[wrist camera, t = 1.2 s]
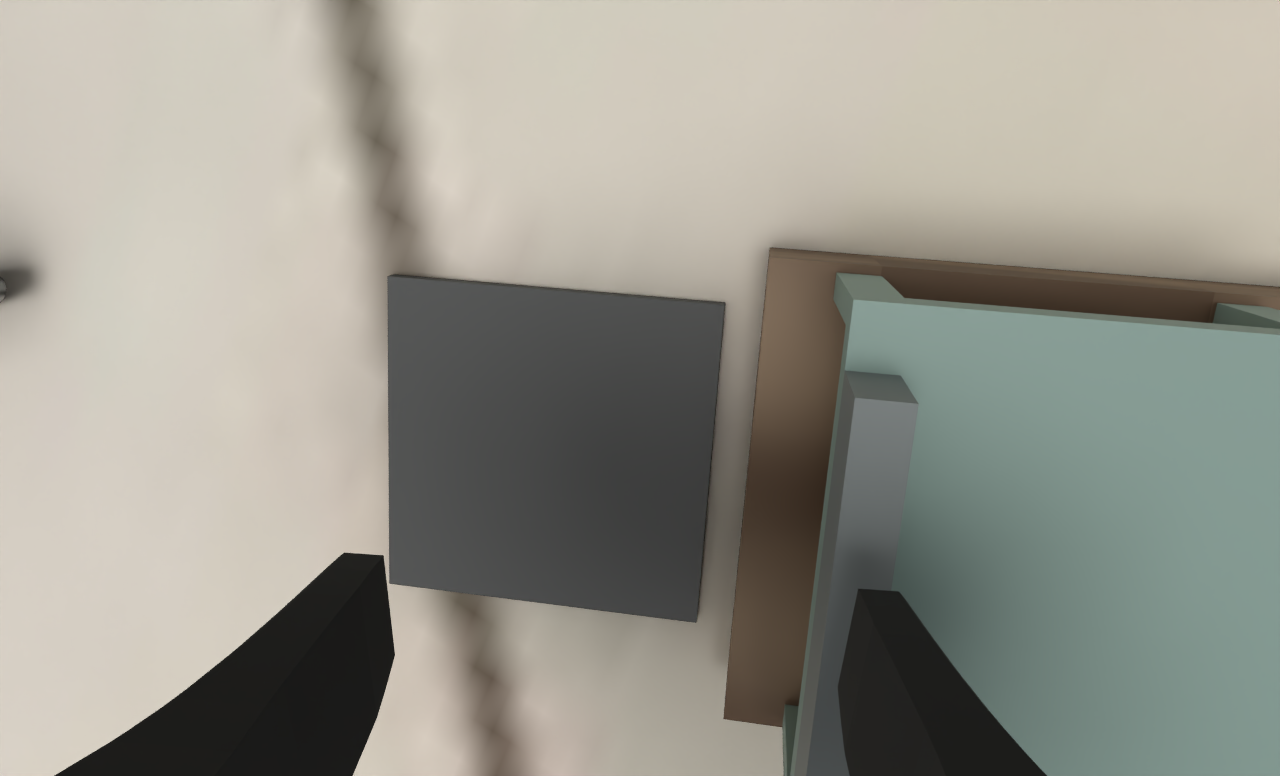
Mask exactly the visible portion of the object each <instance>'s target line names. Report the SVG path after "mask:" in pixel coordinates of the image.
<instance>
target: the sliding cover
mask: <svg viewBox="0 0 1280 776" xmlns="http://www.w3.org/2000/svg"><path fill="white" fill-rule="evenodd" d="M833 300H834V302H835V304H836V306H837V308H838V310H839V312H840V314H841V316H842V318H843V320H844V322H845V324H846V327H845V336H844V344H843V352H842V360H841V368H840V376H839V384H838V392H837V400H836V408H835V416H834V424H833V433H832V441H831V449H830V457H829V465H828V473H827V481H826V489H825V497H824V505H823V513H822V521H821V530H820V538H819V546H818V554H817V562H816V570H815V578H814V586H813V594H812V602H811V610H810V619H809V627H808V635H807V643H806V651H805V659H804V667H803V675H802V683H801V691H800V699H799V706H793V705H785V708H784V717H783V766H784V776H850V775H849V771H848V766H847V762H846V757H845V752H844V744H843V735H842V727H841V717H840V707H839V697H838V683H839V678H840V673H841V668H842V663H843V659H844V654H845V649H846V644H847V640H848V635H849V630H850V625H851V620H852V616H853V611H854V606H855V601H856V596H857V592H858V589H872V590H886V591H899V592H900V593H901V594H902V596H903V597H904V598H905V599H906V601H907V602H908V603H909V605H910V606H911V608H912V609H913V610H914V612H915V613H916V615H917V616H918V618H919V619H920V620H921V622H922V623H923V625H924V626H925V627H926V629H927V630H928V632H929V633H930V634H931V636H932V637H933V638H934V640H935V641H936V643H937V644H938V645H939V647H940V648H941V649H942V651H943V652H944V653H945V655H946V656H947V657H948V659H949V660H950V661H951V663H952V664H953V665H954V667H955V668H956V669H957V671H958V672H959V673H960V675H961V676H962V677H963V678H964V680H965V681H966V682H967V683H968V685H969V686H970V687H971V688H972V690H973V691H974V692H975V693H976V695H977V696H978V697H979V698H980V700H981V701H982V702H983V703H984V705H985V706H986V707H987V708H988V710H989V711H990V712H991V713H992V714H993V716H994V717H995V718H996V719H997V720H998V722H999V723H1000V724H1001V725H1002V726H1003V728H1004V729H1005V730H1006V731H1007V732H1008V733H1009V734H1010V735H1011V737H1012V738H1013V739H1014V740H1015V741H1016V742H1017V743H1018V744H1019V746H1020V747H1021V748H1022V749H1023V750H1024V751H1025V752H1026V754H1027V755H1028V756H1029V757H1030V758H1031V759H1032V760H1033V761H1034V762H1035V763H1036V764H1037V765H1038V767H1039V768H1040V769H1041V770H1042V771H1043V772H1044V773H1045V774H1046V775H1047V776H1280V310H1277V309H1273V308H1270V307H1262V306H1250V305H1237V304H1225V303H1217V306H1216V311H1215V315H1214V320H1213V323H1202V322H1190V321H1178V320H1165V319H1153V318H1141V317H1129V316H1117V315H1105V314H1093V313H1081V312H1068V311H1056V310H1044V309H1032V308H1020V307H1008V306H996V305H983V304H971V303H959V302H947V301H935V300H923V299H911V298H904V297H903V296H902V295H901V294H900V293H899V292H898V291H897V290H896V289H895V288H894V287H893V286H892V285H891V284H890V283H889V282H888V281H887V280H885V279H884V278H883V277H882V276H874V275H861V274H849V273H836V280H835V289H834V297H833Z"/></svg>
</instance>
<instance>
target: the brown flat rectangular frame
mask: <svg viewBox="0 0 1280 776" xmlns="http://www.w3.org/2000/svg"><path fill="white" fill-rule="evenodd" d="M836 273H849V274H861V275H874V276H882V277H883V278H884V279H885V280H887V281H888V282H889V283H890V284H891V285H892V286H893V287H894V288H895V289H896V290H897V291H898V292H899V293H900V294H901V295H902V296H903V297H904V298H911V299H923V300H935V301H947V302H959V303H971V304H983V305H996V306H1008V307H1020V308H1032V309H1044V310H1056V311H1068V312H1081V313H1093V314H1105V315H1117V316H1129V317H1141V318H1153V319H1165V320H1178V321H1190V322H1202V323H1213V320H1214V315H1215V311H1216V306H1217V303H1225V304H1237V305H1250V306H1262V307H1270V308H1273V309H1277V310H1280V287H1273V286H1260V285H1247V284H1234V283H1221V282H1208V281H1195V280H1182V279H1169V278H1157V277H1144V276H1131V275H1118V274H1105V273H1092V272H1079V271H1066V270H1053V269H1040V268H1027V267H1014V266H1001V265H988V264H975V263H962V262H949V261H937V260H924V259H911V258H898V257H885V256H872V255H859V254H846V253H833V252H820V251H807V250H794V249H781V248H770V250H769V260H768V270H767V280H766V290H765V300H764V310H763V320H762V330H761V340H760V350H759V360H758V370H757V380H756V390H755V400H754V410H753V420H752V430H751V440H750V450H749V460H748V470H747V480H746V490H745V500H744V510H743V520H742V530H741V540H740V550H739V560H738V570H737V580H736V590H735V600H734V610H733V620H732V630H731V640H730V650H729V660H728V671H727V683H726V696H725V708H724V719H727V720H734V721H742V722H749V723H756V724H763V725H770V726H777V727H783V717H784V708H785V705H793V706H799V699H800V691H801V683H802V675H803V667H804V659H805V651H806V643H807V635H808V627H809V619H810V610H811V602H812V594H813V586H814V578H815V570H816V562H817V554H818V546H819V538H820V530H821V521H822V513H823V505H824V497H825V489H826V481H827V473H828V465H829V457H830V449H831V441H832V433H833V424H834V416H835V408H836V400H837V392H838V384H839V376H840V368H841V360H842V352H843V344H844V336H845V327H846V324H845V322H844V320H843V318H842V316H841V314H840V312H839V310H838V308H837V306H836V304H835V302H834V300H833V297H834V289H835V280H836Z"/></svg>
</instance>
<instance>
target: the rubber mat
mask: <svg viewBox="0 0 1280 776" xmlns="http://www.w3.org/2000/svg"><path fill="white" fill-rule="evenodd" d="M724 310H725V303H722V302H711V301H699V300H687V299H675V298H664V297H652V296H640V295H628V294H617V293H605V292H593V291H581V290H570V289H558V288H546V287H534V286H522V285H511V284H499V283H487V282H475V281H464V280H452V279H440V278H428V277H417V276H405V275H390V276H388V422H389V583H390V584H397V585H405V586H413V587H421V588H428V589H436V590H444V591H452V592H460V593H468V594H475V595H483V596H491V597H499V598H507V599H515V600H522V601H530V602H538V603H546V604H554V605H562V606H569V607H577V608H585V609H593V610H601V611H609V612H616V613H624V614H632V615H640V616H648V617H656V618H663V619H671V620H679V621H687V622H695V623H696V621H697V614H698V603H699V592H700V580H701V569H702V558H703V547H704V535H705V524H706V513H707V502H708V490H709V479H710V468H711V457H712V445H713V434H714V423H715V412H716V400H717V389H718V378H719V367H720V355H721V344H722V333H723V322H724Z"/></svg>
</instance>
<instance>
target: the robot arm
mask: <svg viewBox="0 0 1280 776" xmlns="http://www.w3.org/2000/svg"><path fill="white" fill-rule="evenodd" d="M394 656H395V652H394V643H393V635H392V626H391V617H390V608H389V600H388V591H387V582H386V573H385V565H384V556H383V555H369V554H354V553H343V554H342V555H341V556H340V557H338V558H337V559H336V560H335V561H334V562H333V563H332V564H331V565H329V566H328V567H327V568H326V569H325V570H324V571H323V572H322V573H321V574H320V575H319V576H317V577H316V578H315V579H314V580H313V581H312V582H311V583H310V584H309V585H308V586H307V587H306V588H304V589H303V590H302V591H301V592H300V593H299V594H298V595H297V596H296V597H295V598H294V599H293V600H291V601H290V602H289V603H288V604H287V605H286V606H285V607H284V608H283V609H282V610H280V611H279V612H278V613H277V614H276V615H275V616H274V617H273V618H271V619H270V620H269V621H268V622H267V623H266V624H265V625H263V626H262V627H261V628H260V629H259V630H258V631H257V632H256V633H254V634H253V635H252V636H251V637H250V638H249V639H248V640H246V641H245V642H244V643H243V644H242V645H241V646H239V647H238V648H237V649H236V650H235V651H234V652H232V653H231V654H230V655H229V656H227V657H226V658H225V659H224V660H222V661H221V662H220V663H219V664H217V665H216V666H215V667H214V668H212V669H211V670H210V671H209V672H207V673H206V674H205V675H204V676H202V677H201V678H200V679H199V680H197V681H196V682H195V683H194V684H192V685H191V686H190V687H189V688H187V689H186V690H185V691H183V692H182V693H181V694H179V695H178V696H177V697H175V698H174V699H173V700H171V701H170V702H169V703H167V704H166V705H165V706H163V707H162V708H160V709H159V710H158V711H156V712H155V713H153V714H152V715H150V716H149V717H147V718H146V719H144V720H143V721H141V722H140V723H138V724H137V725H135V726H134V727H133V728H131V729H130V730H128V731H127V732H125V733H124V734H122V735H121V736H119V737H117V738H116V739H114V740H113V741H111V742H110V743H108V744H106V745H105V746H103V747H101V748H100V749H98V750H96V751H95V752H93V753H91V754H90V755H88V756H86V757H85V758H83V759H81V760H80V761H78V762H76V763H75V764H73V765H71V766H70V767H68V768H66V769H65V770H63V771H61V772H60V773H58V774H56V775H55V776H352V775H353V773H354V771H355V768H356V766H357V764H358V761H359V759H360V757H361V754H362V752H363V750H364V747H365V745H366V743H367V740H368V738H369V735H370V733H371V731H372V728H373V726H374V723H375V721H376V718H377V716H378V712H379V709H380V706H381V702H382V699H383V696H384V692H385V689H386V685H387V682H388V678H389V675H390V671H391V667H392V664H393V660H394ZM838 697H839V707H840V717H841V727H842V735H843V744H844V752H845V757H846V762H847V766H848V771H849V775H850V776H1047V775H1046V774H1045V773H1044V772H1043V771H1042V770H1041V769H1040V768H1039V767H1038V765H1037V764H1036V763H1035V762H1034V761H1033V760H1032V759H1031V758H1030V757H1029V756H1028V755H1027V754H1026V752H1025V751H1024V750H1023V749H1022V748H1021V747H1020V746H1019V744H1018V743H1017V742H1016V741H1015V740H1014V739H1013V738H1012V737H1011V735H1010V734H1009V733H1008V732H1007V731H1006V730H1005V729H1004V728H1003V726H1002V725H1001V724H1000V723H999V722H998V720H997V719H996V718H995V717H994V716H993V714H992V713H991V712H990V711H989V710H988V708H987V707H986V706H985V705H984V703H983V702H982V701H981V700H980V698H979V697H978V696H977V695H976V693H975V692H974V691H973V690H972V688H971V687H970V686H969V685H968V683H967V682H966V681H965V680H964V678H963V677H962V676H961V675H960V673H959V672H958V671H957V669H956V668H955V667H954V665H953V664H952V663H951V661H950V660H949V659H948V657H947V656H946V655H945V653H944V652H943V651H942V649H941V648H940V647H939V645H938V644H937V643H936V641H935V640H934V638H933V637H932V636H931V634H930V633H929V632H928V630H927V629H926V627H925V626H924V625H923V623H922V622H921V620H920V619H919V618H918V616H917V615H916V613H915V612H914V610H913V609H912V608H911V606H910V605H909V603H908V602H907V601H906V599H905V598H904V597H903V596H902V594H901V593H900V592H899V591H886V590H872V589H858V592H857V596H856V601H855V606H854V611H853V616H852V620H851V625H850V630H849V635H848V640H847V644H846V649H845V654H844V659H843V663H842V668H841V673H840V678H839V683H838Z"/></svg>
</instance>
